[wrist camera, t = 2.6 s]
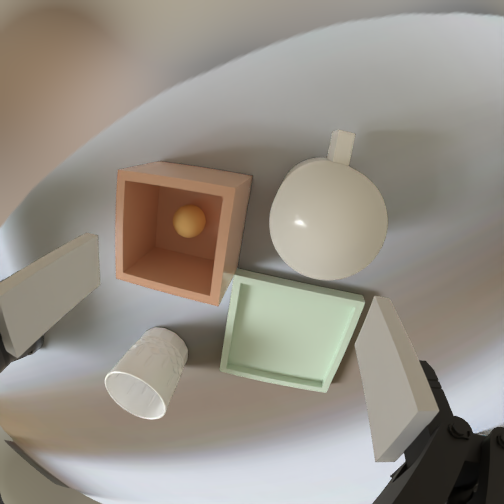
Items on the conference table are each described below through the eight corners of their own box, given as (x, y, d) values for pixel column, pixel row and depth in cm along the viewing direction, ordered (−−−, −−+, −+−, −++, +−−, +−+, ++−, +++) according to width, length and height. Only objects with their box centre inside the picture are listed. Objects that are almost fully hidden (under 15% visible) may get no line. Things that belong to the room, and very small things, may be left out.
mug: (271, 231, 31) (259, 266, 22) (292, 124, 27) (287, 117, 18) (351, 249, 30) (368, 290, 22) (377, 145, 26) (408, 148, 18)
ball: (178, 228, 31) (166, 238, 28) (181, 199, 30) (168, 205, 27) (207, 235, 31) (197, 245, 28) (211, 204, 30) (201, 212, 27)
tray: (222, 363, 38) (219, 371, 36) (237, 268, 33) (234, 274, 31) (325, 384, 37) (325, 392, 35) (362, 295, 31) (365, 302, 30)
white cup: (169, 315, 36) (133, 365, 27) (204, 360, 38) (179, 415, 29) (129, 332, 39) (93, 377, 30) (162, 373, 41) (135, 421, 31)
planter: (152, 248, 33) (116, 278, 26) (159, 161, 30) (117, 169, 22) (237, 268, 33) (218, 306, 25) (252, 175, 29) (235, 188, 21)
